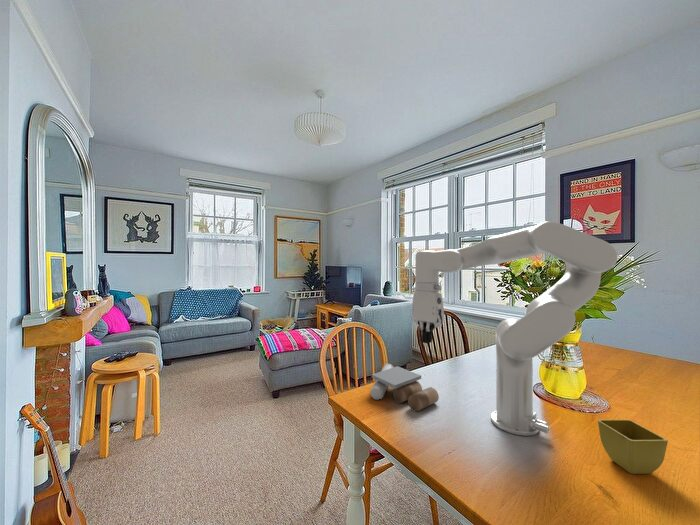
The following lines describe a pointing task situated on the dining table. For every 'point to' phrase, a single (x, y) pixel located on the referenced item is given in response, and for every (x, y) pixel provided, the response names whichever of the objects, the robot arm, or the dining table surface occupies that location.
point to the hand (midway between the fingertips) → (427, 342)
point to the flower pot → (632, 445)
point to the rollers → (416, 395)
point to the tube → (380, 386)
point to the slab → (396, 377)
